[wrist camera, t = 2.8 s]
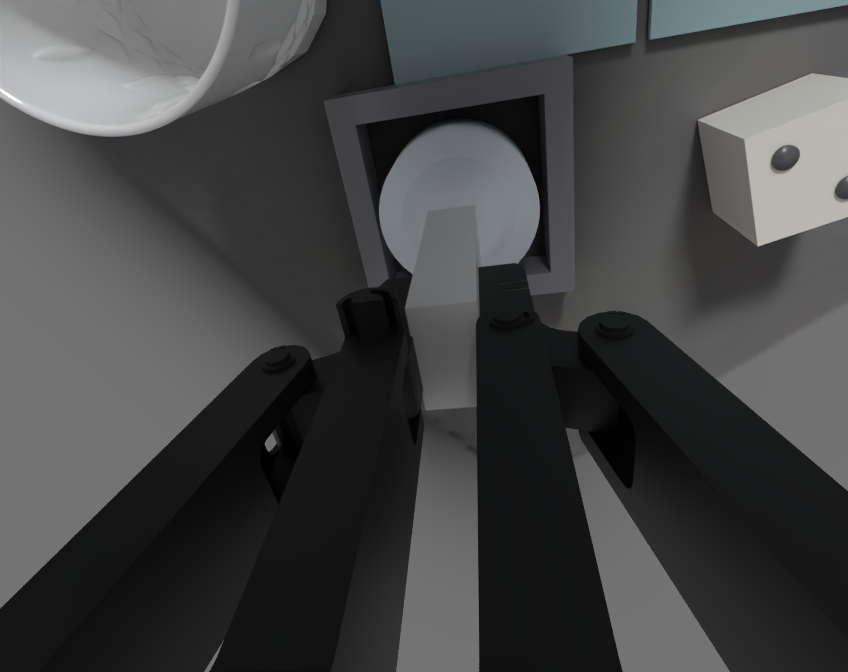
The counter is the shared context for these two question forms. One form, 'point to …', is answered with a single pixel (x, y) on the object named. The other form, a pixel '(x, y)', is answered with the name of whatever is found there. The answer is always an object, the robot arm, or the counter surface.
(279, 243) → the counter surface
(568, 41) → the tile
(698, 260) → the counter surface
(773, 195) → the die
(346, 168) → the frame
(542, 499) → the robot arm
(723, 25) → the tile
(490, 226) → the dome
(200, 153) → the counter surface
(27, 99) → the white cup
